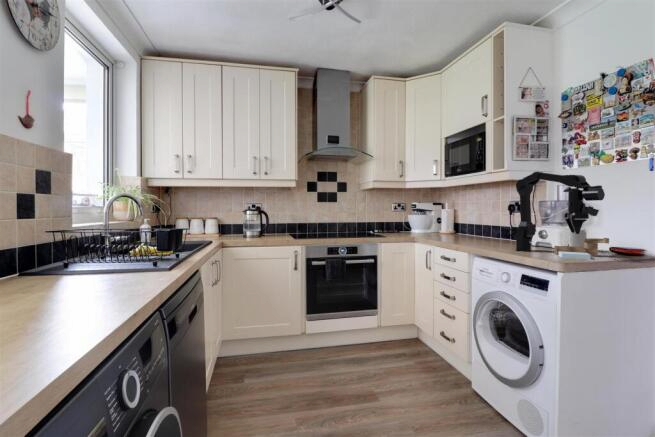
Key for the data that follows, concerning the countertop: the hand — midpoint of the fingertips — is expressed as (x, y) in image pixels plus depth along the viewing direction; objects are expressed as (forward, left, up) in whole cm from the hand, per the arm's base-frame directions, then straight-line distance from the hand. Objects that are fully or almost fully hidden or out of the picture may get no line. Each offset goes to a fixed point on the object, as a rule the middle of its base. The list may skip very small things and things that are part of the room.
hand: (575, 233), depth 150 cm
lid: (0, 0, -12) cm, 12 cm away
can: (+7, +29, -12) cm, 32 cm away
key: (+11, +9, -5) cm, 15 cm away
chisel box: (+2, +9, -12) cm, 15 cm away
